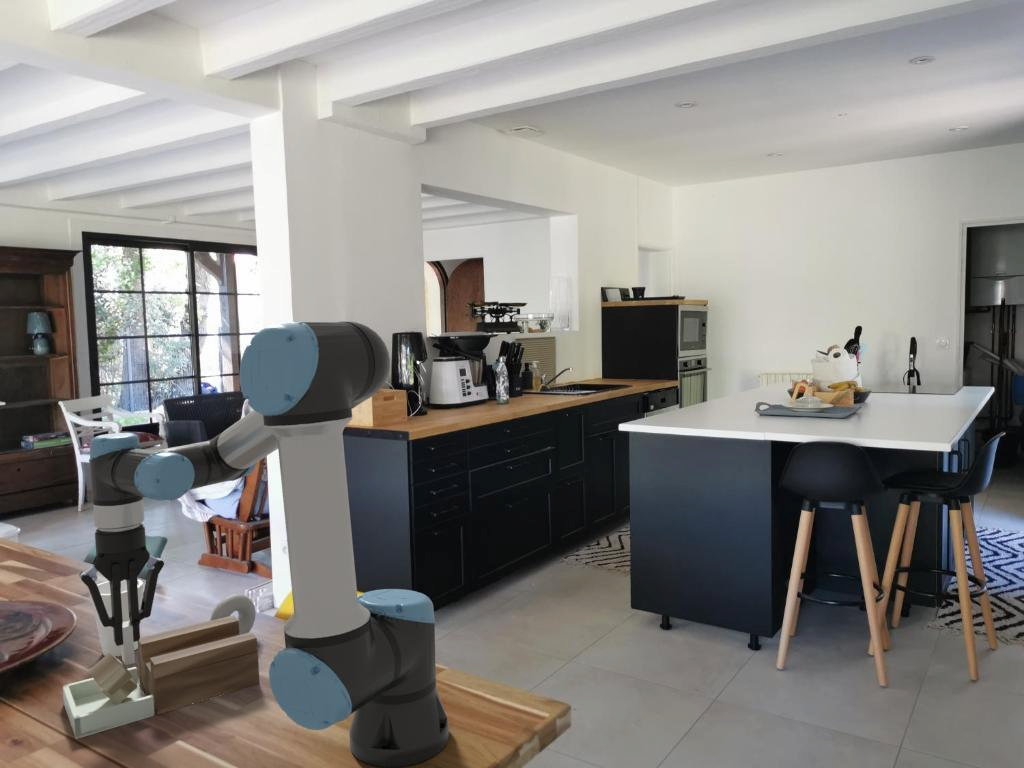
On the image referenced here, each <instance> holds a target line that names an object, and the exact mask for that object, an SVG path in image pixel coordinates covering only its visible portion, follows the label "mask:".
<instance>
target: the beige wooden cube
mask: <svg viewBox="0 0 1024 768" xmlns="http://www.w3.org/2000/svg"><path fill="white" fill-rule="evenodd" d="M127 669H128V667H126V665H125V664H124V662H123V661H120V659H118V658H117V657H115V656H113V655H112V654H111V653H108V654H107V655H106V656H105V655H104V657H103V658H101V659H100V660H99V661H97V663H96V664H94V665H93V666H92V667H90V668H89V669H88V673H89V675H90V676H91V678H94V680H95V681H96V683H97V684H98V685H99V686H100V687H101V688H102V689H104V690H105V691H106V692H108V693H109V694H110V695H113V694H114V693H115V692H117V691H118V690H119V689H120V688H121V687H122V686H123V685H124V684H126V683H127V682H128V681H129V680H130V679H131V678H132V677H133V676H132V675H131V674H130V672H129V671H128V670H127Z"/></svg>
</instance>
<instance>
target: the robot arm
mask: <svg viewBox="0 0 1024 768" xmlns="http://www.w3.org/2000/svg"><path fill="white" fill-rule="evenodd" d="M390 368H391V359H390V352H389V350H388V347H387V344H385V341H384V340H383V338H382V337H381V336H380V335H379V334H378V333H377V332H376V331H375V330H374V329H372V328H370V326H367V325H365V324H362V323H360V322H355V321H335V322H333V321H331V322H329V321H328V322H327V321H326V322H325V321H324V322H323V321H322V322H318V321H317V322H316V321H312V322H311V321H306V322H305V321H297V322H296V321H295V322H294V321H291V322H287V323H286V322H285V323H280V324H278V323H277V324H272V325H269V326H266V327H264V328H263V329H261V330H259V331H258V332H256V333H255V334H254V335H253V337H252V338H251V341H250V343H249V344H247V345H246V347H245V349H244V351H243V353H242V357H241V360H240V365H239V385H240V389H241V393H242V395H243V397H244V399H245V400H248V402H247V405H249V407H250V408H251V409H252V411H250V412H249V413H247V414H246V415H244V416H243V417H242V418H240V419H239V420H237V421H236V422H235V423H233V424H232V425H230V426H229V427H228V428H226V429H225V430H223V432H220V433H219V434H218V435H216V436H215V437H213V438H212V439H209V440H207V441H206V440H205V441H201V442H195V443H194V442H193V443H190V444H185V445H180V446H172V447H167V448H163V449H143V448H142V445H141V443H140V437H139V436H138V435H137V434H136V433H133V432H115V433H114V432H113V433H105V434H100V435H97V436H95V437H93V438H92V439H91V440H90V441H89V459H88V463H89V471H90V481H91V495H92V505H93V506H92V507H93V521H94V522H93V524H94V527H95V528H97V529H96V530H94V538H95V539H94V540H95V542H94V543H95V558H94V560H93V562H92V564H93V565H92V566H91V567H89V568H88V569H87V570H83V571H80V573H79V574H78V576H79V578H80V580H81V582H83V583H84V584H85V586H86V587H87V588H88V590H89V591H88V592H89V595H90V594H91V597H92V599H93V602H94V605H95V607H96V610H97V613H98V616H99V618H100V621H101V623H102V625H103V626H104V627H108V626H110V627H113V633H114V642H115V643H116V645H117V646H119V645H121V649H122V656H121V660H122V663H123V665H124V666H127V665H131V664H134V663H136V661H135V660H136V659H135V651H134V642H136V641H139V639H140V638H141V633H140V630H141V627H140V628H139V624H140V625H141V621H142V620H144V619H146V618H149V617H150V616H151V614H152V610H153V609H152V608H153V604H154V598H155V593H156V589H157V583H158V579H159V574H160V572H161V571H162V569H163V568H164V565H165V561H163V560H162V559H161V558H160V557H158V556H157V557H154V556H152V555H151V554H150V551H148V549H147V541H146V540H147V539H146V528H145V527H146V526H145V524H144V523H143V522H144V521H145V509H144V507H145V506H144V498H146V499H150V500H155V501H175V500H179V499H181V498H182V497H183V496H184V495H185V494H187V493H188V492H189V491H190V490H191V491H192V490H195V489H199V488H204V487H207V486H212V485H217V484H220V483H225V482H231V481H232V482H234V481H236V480H239V479H241V478H243V477H247V476H250V475H252V473H253V472H254V471H255V468H256V466H257V465H258V462H259V461H261V460H263V459H264V458H265V457H267V456H268V455H271V454H272V453H273V452H275V451H276V450H278V459H279V470H280V481H281V490H282V501H283V509H284V510H283V512H284V513H283V514H284V520H285V532H286V542H287V553H288V563H289V564H288V565H289V573H290V574H289V575H290V582H291V583H290V584H291V585H290V586H291V594H292V604H293V606H292V607H293V613H292V614H291V616H290V617H289V618H288V620H287V621H286V622H285V623H284V624H283V634H284V642H285V643H284V644H285V646H284V647H285V648H284V649H282V650H280V651H278V653H277V654H276V655H275V656H274V657H273V660H272V661H271V663H270V666H269V669H268V678H269V684H270V689H271V692H272V695H273V697H274V699H275V700H276V703H277V705H278V706H279V708H280V710H282V711H283V712H284V713H285V714H286V716H287V717H288V718H289V719H290V720H291V721H292V722H294V723H295V724H296V725H297V726H300V727H302V728H305V729H307V730H311V731H323V730H326V729H328V728H330V727H332V726H333V725H336V724H337V723H339V722H340V723H341V722H343V721H345V720H347V719H348V718H349V717H350V716H351V715H352V714H353V718H352V720H351V725H350V728H349V748H350V750H351V753H352V754H353V756H355V757H356V758H357V759H358V760H360V761H361V762H363V763H365V764H369V765H371V766H375V767H383V768H398V767H407V766H411V765H416V764H419V763H422V762H424V761H427V760H429V759H431V758H433V757H434V756H436V755H437V754H439V753H440V752H441V751H442V750H443V749H444V748H445V747H446V745H447V744H448V741H449V738H450V733H449V719H448V716H447V713H446V711H445V707H444V706H443V703H442V700H441V697H440V694H439V692H438V690H437V678H436V677H437V676H436V674H437V673H436V672H437V670H436V669H437V667H436V663H437V662H436V627H435V626H436V622H437V621H436V619H435V612H434V603H433V602H432V600H431V598H430V597H429V596H427V595H426V594H424V593H422V592H418V591H415V590H411V589H410V590H409V589H404V588H403V589H401V588H383V589H374V590H371V591H370V590H369V591H367V592H366V591H365V592H363V593H361V594H360V595H358V588H357V575H356V566H355V556H354V545H353V543H354V542H353V535H352V534H353V533H352V524H351V523H352V522H351V512H350V503H349V501H350V500H349V491H348V489H349V488H348V478H347V467H346V460H345V459H346V458H345V456H346V455H345V448H344V436H343V432H344V430H345V428H346V427H347V425H348V424H349V423H350V422H351V421H352V420H353V411H352V410H353V409H354V408H356V407H358V406H359V405H360V404H362V403H363V402H365V401H367V400H368V399H370V398H372V397H374V396H375V395H376V394H377V393H378V392H380V390H381V389H382V388H383V387H384V385H385V383H386V382H387V379H388V377H389V373H390ZM145 566H147V567H146V568H147V574H146V577H145V578H146V579H145V583H144V587H143V591H144V593H143V597H142V603H141V609H140V610H139V604H138V589H137V584H138V580H139V579H138V576H140V573H141V572H142V570H143V569H144V568H145ZM97 573H100V574H101V575H102V576H103V577H104V578H105V579H106V580H107V581H109V583H110V593H111V609H112V617H109V616H108V613H107V611H106V608H105V605H104V603H103V600H102V597H101V594H100V592H99V589H98V586H97V585H98V584H97V583H96V581H97V580H98V575H97ZM137 579H138V580H137ZM123 580H126V582H127V594H128V610H129V619H130V621H126V622H123V620H122V603H121V581H123Z"/></svg>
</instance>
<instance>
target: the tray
mask: <svg viewBox="0 0 1024 768" xmlns="http://www.w3.org/2000/svg"><path fill="white" fill-rule="evenodd" d="M127 670H128V671H129V672H130V674H131V675H132V676H133V677H132V680H133V681H134V682H135V683H136V685H137V686H138V687H137V688H136V689H134V690H133V691H132V692H131V693H130V694H129V695H128V696H127V697H126V698H125V699H124V700H123V701H122V702H121V703H120V704H118V705H116V704H115V703H114V702H113V701H112V700H111V699H109V698H108V697H107V696H106V695H105V694H104V693H102V692H101V690H100V689H99V687H98V686H97V684H96V681H95V680H94V678H93V677H91V678H87V679H83V680H79V681H76V682H72V683H68V684H63V685H62V696H63V706H64V709H65V711H66V715H67V717H68V720H69V723H70V726H71V729H72V732H73V735H74V738H75V740H77V739H81V738H84V737H87V736H88V737H89V736H91V735H94V734H97V733H100V732H104V731H107V730H111V729H114V728H117V727H121V726H125V725H128V724H131V723H134V722H138V721H141V720H144V719H148V718H150V717H154V715H155V709H154V699H153V695H149V696H147V695H145V692H144V690H143V689H142V687H141V685H140V683H139V682H138V671H137V670H138V668H137V666H133V667H130V668H128V667H127Z"/></svg>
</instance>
